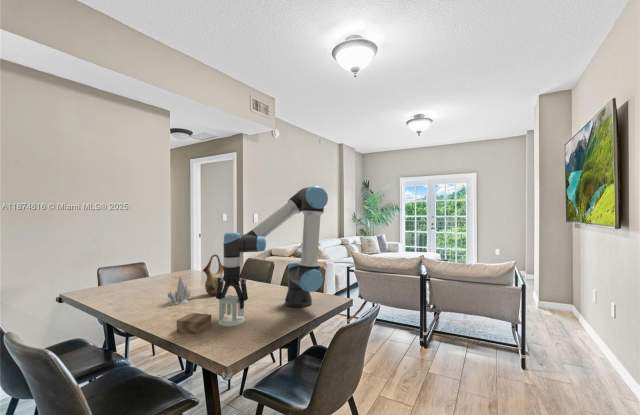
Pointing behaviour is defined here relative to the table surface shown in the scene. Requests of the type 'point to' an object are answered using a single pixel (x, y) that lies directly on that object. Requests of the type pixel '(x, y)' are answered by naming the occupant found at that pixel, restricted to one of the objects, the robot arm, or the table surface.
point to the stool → (229, 307)
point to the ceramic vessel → (213, 277)
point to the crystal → (179, 294)
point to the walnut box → (194, 323)
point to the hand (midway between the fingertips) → (231, 314)
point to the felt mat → (228, 321)
